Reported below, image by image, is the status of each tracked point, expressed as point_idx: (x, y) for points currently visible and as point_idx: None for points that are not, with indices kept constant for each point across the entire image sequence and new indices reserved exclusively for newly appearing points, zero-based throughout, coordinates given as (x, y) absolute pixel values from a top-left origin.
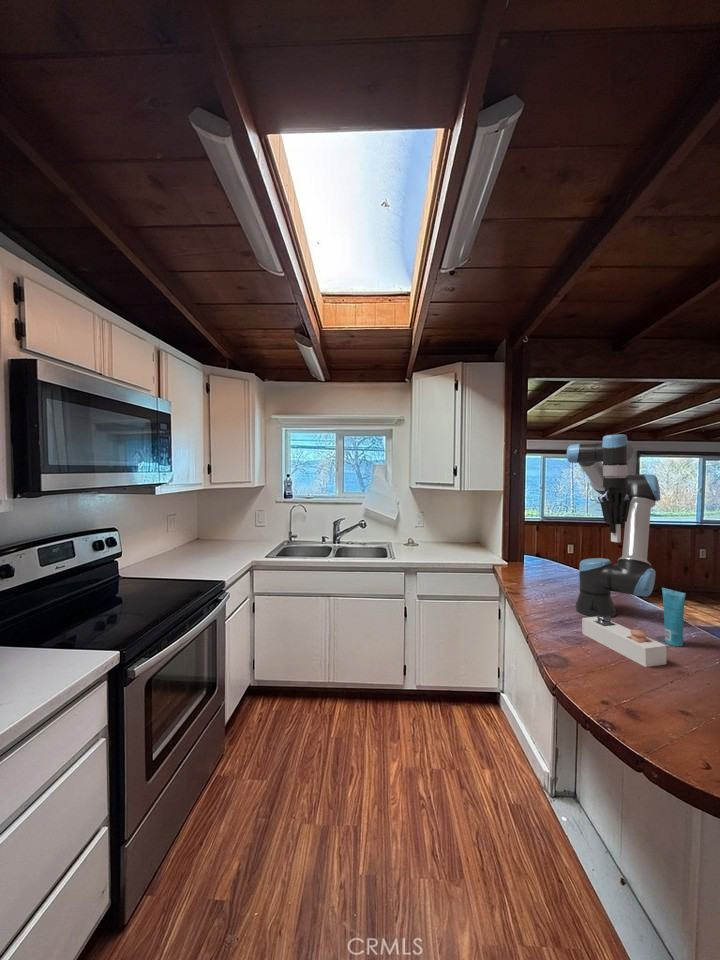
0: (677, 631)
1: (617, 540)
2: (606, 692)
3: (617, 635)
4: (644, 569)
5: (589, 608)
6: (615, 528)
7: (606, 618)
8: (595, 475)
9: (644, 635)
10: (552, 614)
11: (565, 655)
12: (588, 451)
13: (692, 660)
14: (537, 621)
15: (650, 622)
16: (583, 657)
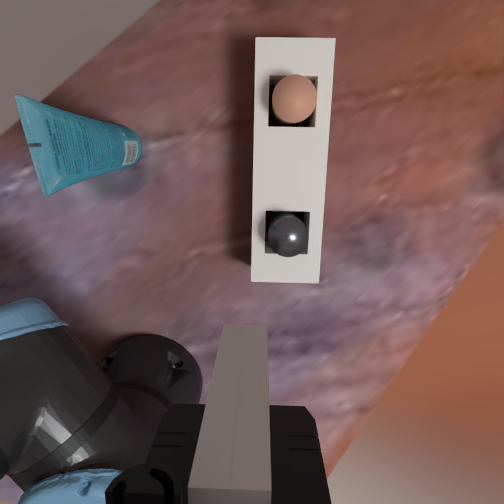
0: (113, 126)
1: (263, 334)
2: None
3: (327, 145)
4: None
5: (188, 373)
6: (271, 453)
7: (295, 221)
8: None
9: (296, 74)
10: (286, 395)
11: (469, 168)
12: None
13: (167, 50)
14: (366, 367)
15: (60, 278)
16: (433, 146)
